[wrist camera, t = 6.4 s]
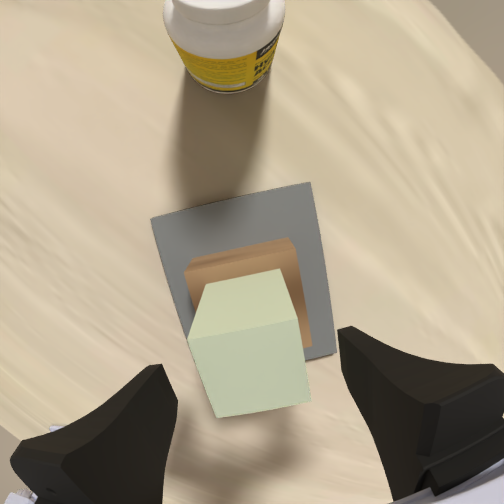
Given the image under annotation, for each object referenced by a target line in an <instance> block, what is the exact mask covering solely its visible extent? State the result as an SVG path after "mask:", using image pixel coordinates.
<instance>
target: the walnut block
mask: <svg viewBox="0 0 504 504" xmlns="http://www.w3.org/2000/svg"><path fill="white" fill-rule="evenodd" d="M275 269H280V270H281V273H282V276H283V278H284V281H285V284H286V287H287V290H288V292H289V295H290V298H291V301H292V304H293V307H294V309H295V312H296V315H297V318H298V323H299V329H300V335H301V340H302V346H303V348H306V347H311V346H312V340H311V333H310V327H309V321H308V315H307V309H306V303H305V298H304V292H303V286H302V281H301V275H300V270H299V264H298V259H297V254H296V248H295V247H294V245H293V244H292V242H291V241H290V239H289V238H288V237H286V238H282V239H277V240H273V241H268V242H264V243H259V244H254V245H250V246H245V247H241V248H236V249H232V250H227V251H223V252H218V253H214V254H209V255H205V256H200V257H196V258H192V260H191V262H190V263H189V265H188V267H187V268H186V270H185V272H184V275H185V279H186V282H187V286H188V289H189V292H190V296H191V299H192V302H193V306H194V309H195V312H196V311H197V308H198V305H199V303H200V300H201V297H202V294H203V291H204V288H205V285H206V284H209V283H214V282H219V281H223V280H228V279H233V278H238V277H242V276H247V275H252V274H257V273H261V272H266V271H270V270H275Z"/></svg>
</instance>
